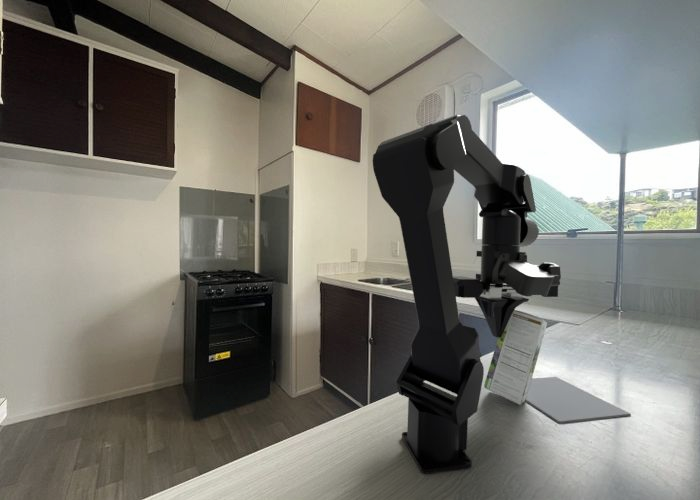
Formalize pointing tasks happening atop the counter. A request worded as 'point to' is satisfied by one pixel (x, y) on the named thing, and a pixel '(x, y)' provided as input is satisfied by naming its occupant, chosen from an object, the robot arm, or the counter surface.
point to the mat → (568, 401)
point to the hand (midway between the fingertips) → (497, 336)
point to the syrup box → (516, 357)
